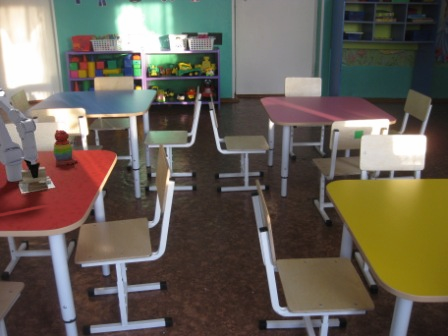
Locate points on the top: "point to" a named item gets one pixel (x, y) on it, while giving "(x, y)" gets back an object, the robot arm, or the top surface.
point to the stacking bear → (63, 149)
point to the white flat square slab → (25, 190)
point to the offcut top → (37, 184)
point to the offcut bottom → (37, 188)
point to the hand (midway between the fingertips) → (34, 175)
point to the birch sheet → (29, 179)
